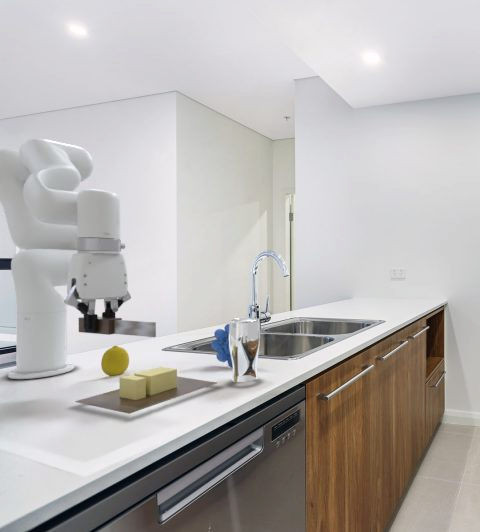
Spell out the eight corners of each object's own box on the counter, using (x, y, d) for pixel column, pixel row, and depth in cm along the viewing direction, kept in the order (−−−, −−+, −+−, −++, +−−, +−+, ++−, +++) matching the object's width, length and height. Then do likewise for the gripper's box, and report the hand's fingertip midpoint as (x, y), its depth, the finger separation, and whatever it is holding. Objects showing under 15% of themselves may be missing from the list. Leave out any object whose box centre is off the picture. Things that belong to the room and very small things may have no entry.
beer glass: (223, 383, 93) (223, 319, 93) (251, 377, 98) (251, 316, 98) (236, 389, 88) (237, 322, 88) (265, 383, 94) (265, 319, 93)
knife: (78, 332, 87) (78, 317, 87) (92, 330, 90) (92, 316, 90) (148, 338, 79) (148, 322, 79) (161, 335, 82) (161, 320, 82)
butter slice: (119, 397, 80) (119, 377, 80) (129, 394, 82) (129, 374, 82) (136, 400, 78) (136, 380, 78) (145, 397, 80) (145, 377, 80)
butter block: (134, 392, 83) (134, 373, 83) (160, 384, 88) (160, 366, 88) (150, 395, 81) (150, 376, 81) (177, 387, 86) (177, 368, 86)
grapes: (208, 373, 101) (208, 326, 101) (212, 367, 108) (212, 323, 107) (257, 370, 105) (257, 324, 105) (257, 364, 111) (257, 321, 111)
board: (74, 407, 77) (74, 401, 77) (168, 379, 96) (168, 374, 96) (129, 420, 71) (129, 413, 71) (218, 387, 90) (218, 382, 90)
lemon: (114, 382, 94) (114, 348, 94) (95, 380, 95) (95, 347, 95) (134, 375, 99) (134, 343, 99) (116, 374, 100) (116, 342, 100)
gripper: (125, 249, 96) (125, 325, 96) (44, 246, 81) (45, 336, 81) (147, 248, 93) (147, 326, 93) (67, 245, 78) (68, 338, 78)
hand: (100, 330), depth 87 cm, fingers closed on knife, 2 cm apart
